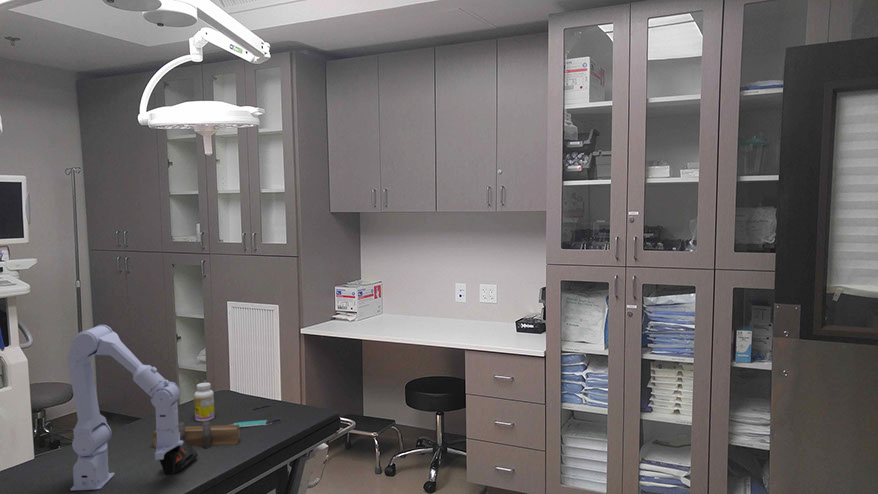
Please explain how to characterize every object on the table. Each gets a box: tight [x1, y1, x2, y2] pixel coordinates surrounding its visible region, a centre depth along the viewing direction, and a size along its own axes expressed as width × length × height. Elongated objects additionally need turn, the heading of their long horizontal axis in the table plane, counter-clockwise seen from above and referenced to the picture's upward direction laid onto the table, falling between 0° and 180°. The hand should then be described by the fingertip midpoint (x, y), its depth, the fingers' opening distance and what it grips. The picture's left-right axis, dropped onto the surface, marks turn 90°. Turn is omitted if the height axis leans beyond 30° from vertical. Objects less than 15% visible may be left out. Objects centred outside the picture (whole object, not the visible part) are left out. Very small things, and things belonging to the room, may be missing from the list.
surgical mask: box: [231, 405, 281, 429], centre depth 216 cm, size 21×4×10 cm
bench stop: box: [152, 420, 241, 449], centre depth 198 cm, size 6×26×8 cm, turn 95°
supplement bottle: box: [193, 382, 215, 423], centre depth 222 cm, size 7×7×13 cm
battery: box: [174, 438, 199, 473], centre depth 183 cm, size 12×8×7 cm
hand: (169, 473), depth 173 cm, fingers closed
